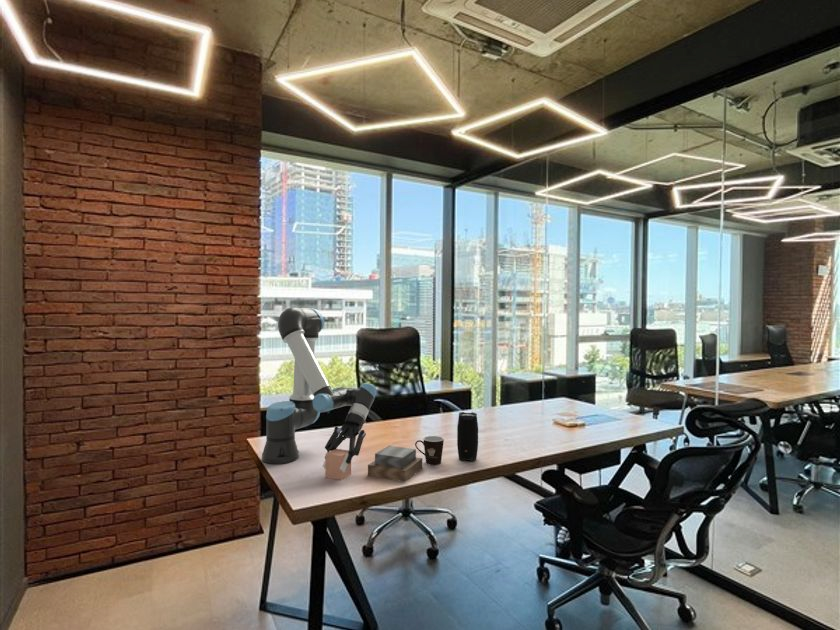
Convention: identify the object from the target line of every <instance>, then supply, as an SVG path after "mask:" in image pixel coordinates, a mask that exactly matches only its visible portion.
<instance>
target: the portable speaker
mask: <svg viewBox="0 0 840 630" xmlns="http://www.w3.org/2000/svg"><path fill="white" fill-rule="evenodd" d="M457 418H458V420H457V426H456V428H457V429H456V430H457V431H456V433H457V436H456V439H457V442H456V444H457V455H458V460H459V461H463V460H468V461H469V462H475V461H477V457H478V451H479V450H478V449H479V447H478V446H479V423H478V414H477V413H476V412H464V411H462V412H459V413H458V417H457Z"/></svg>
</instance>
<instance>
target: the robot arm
mask: <svg viewBox="0 0 840 630" xmlns="http://www.w3.org/2000/svg"><path fill="white" fill-rule="evenodd" d="M324 326H325V319H324V316H323V314H322V313H321V312H320V311H319V310H318V309H316V308H312V307H295V306H294V307H288V308H286V309H284V310H283V311H282V312H281V314H280V315H279V317H278V321H277V327H278V333H279V336H280V338H281V339H282V341H283V343H286V344H287V345H288V347H289V350H290V352H291V353H292V356H293V357H294V364H293V365H294V366H293V369H294V370H293V384H292V385H293V388H292V389H293V391H292V394H291V395H290V396H289V398H288V400H285V401H284V400H283V401H282V400H281V401H278V402H274V403H272V404H270V405H269V406H267V408H266V415H265V418H266V420H265V421H266V423H265V424H266V427H265V428H266V429H265V430H266V432H265V433H266V440H265V445H264V448H263V451H262V455H261V461H262V462H263V463H265V464H269V465H271V464H272V465H279V464H287V462H288V463H292V462H295V461H297V460H298V459H299V457H300V453H299V452H300V450H299V449H298V445H297V442H296V437H295V436H296V430H298V429H301V428H305V427H308V426H310V425H312V424H315V422H316V421H317V420H318V419H319V417H320V416H321V415H320V414H321V413H326V412H330V411H332V410H335V409H339V408H342V407H346V406H348V407H349V406H350V408H349V411H348V412H347V415H346V417H345V419H344V422H343V425H342V426H341V427H338V426H334V429H333V432H332V434H331V435H330V438H329V439H328V440H327V442H326V444H325V446H324V448H325V451H326V453H328V452H330V451H332V450H334V449H338V447H339V446H340V445H341V444H342V442H343V441H345V440H346V439H349V447H348V450H349V451H348V452H349V454H348V453H346V456H345V458H344V460H343V462H342V465H341V467H340V470H341V471H342V472H343V473H344V472H345V470H346V467H347V465H348V464H350V462H351V463H352V460H353V457H354V456H359V455H360V452H361V449H362V448H361V447H362V444H363V441H364V438H365V437H366V435H367V433H366V432H365V430H364V429H362V428H363V427H364V424H365V420H366V419H367V416H368V414H369V411H370V409H371V406H372V405H373V403H374V401H375V399H376V396H377V395H376V394H377V392H378V390H377V388H376V386H374V384H371V383H369V382H364V383H362V384H360V386H359V387H357V388H356V387H355V388H352V387H343V386H340V387H339V386H338V387H336V386H335V387H334V388H333V389H332V387H331V385H330V383H329V381H328V379H327V377H326V375H325V373H324V372H323V369H322V367H321V366H320V364H319V362H318V360H317V358H316V356H315V348H316V347H315V344H316V341H317V340H318V339H319V333H320V332H321V331H322V330H323V328H324ZM296 459H297V460H296ZM324 459H325V460H324V462H323V464H322V467H323V468H324V470H326V455H325V456H324ZM294 460H295V461H294ZM291 461H292V462H291Z"/></svg>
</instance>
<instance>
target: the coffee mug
mask: <svg viewBox="0 0 840 630" xmlns="http://www.w3.org/2000/svg"><path fill="white" fill-rule="evenodd" d="M418 443H422V445H423V448H424V452H423V451H422V450H421V449H420V448H419V447H418V446H417V444H418ZM444 443H445V438H444V437H442V436H438V435H428V436H424V437H423V439H422V440H416V441H415V443H414V444H415V446H414V447H415V449H416V450H418V451H419V452H420V453H421V454H422V455H424V458H425V464H427V465H429V464H430V465H429V466H437V465H441V464H442V459H443V451H444V450H443V449H444Z"/></svg>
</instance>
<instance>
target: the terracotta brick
mask: <svg viewBox="0 0 840 630" xmlns="http://www.w3.org/2000/svg"><path fill="white" fill-rule="evenodd" d="M348 451H349V449H348V450H346V449H341V448H336V449H334V450H332V451H330V452H328V453H327V452H326V453H325V456H326V469H325V475H324V476H325V478H327V477H328V479H332V478H334V479H333V480H338V479H340V480H339V481H342V480H344V479H345V478H347V477H349V476H350V474H351V475H352V461H351V462H350V464H348V465H347V467H346V470H345V472H344V473H343V472H342V471H341V470H340V467H341V465H342V462H343V460H344V458H345V456H346V453H348V454H349V452H348ZM348 475H349V476H348ZM343 478H344V479H343ZM341 479H342V480H341Z"/></svg>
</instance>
